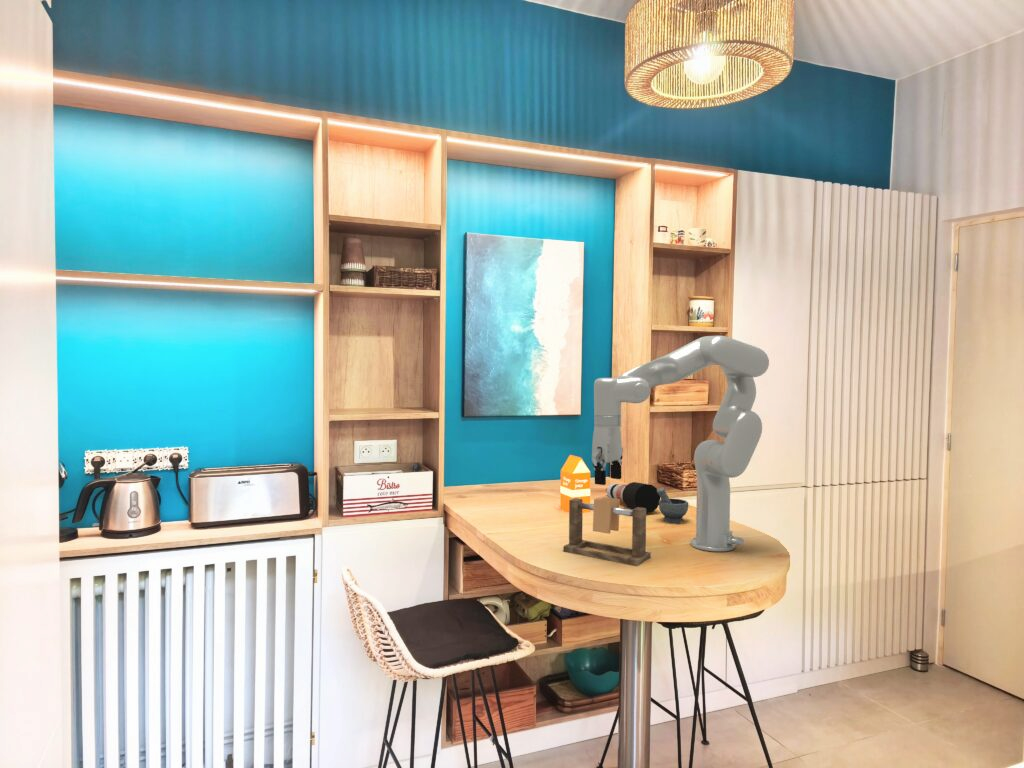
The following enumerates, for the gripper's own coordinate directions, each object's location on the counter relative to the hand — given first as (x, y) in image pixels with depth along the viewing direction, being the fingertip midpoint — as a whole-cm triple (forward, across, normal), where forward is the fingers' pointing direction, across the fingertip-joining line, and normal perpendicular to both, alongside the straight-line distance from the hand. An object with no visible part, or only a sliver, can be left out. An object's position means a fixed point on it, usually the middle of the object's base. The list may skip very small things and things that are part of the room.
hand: (608, 481), depth 186 cm
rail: (+9, 0, 0) cm, 9 cm away
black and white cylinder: (+22, -61, -23) cm, 69 cm away
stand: (+21, +1, 0) cm, 21 cm away
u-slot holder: (+14, +1, 0) cm, 14 cm away
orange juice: (+21, -41, -34) cm, 58 cm away
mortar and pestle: (+22, -46, 0) cm, 51 cm away
